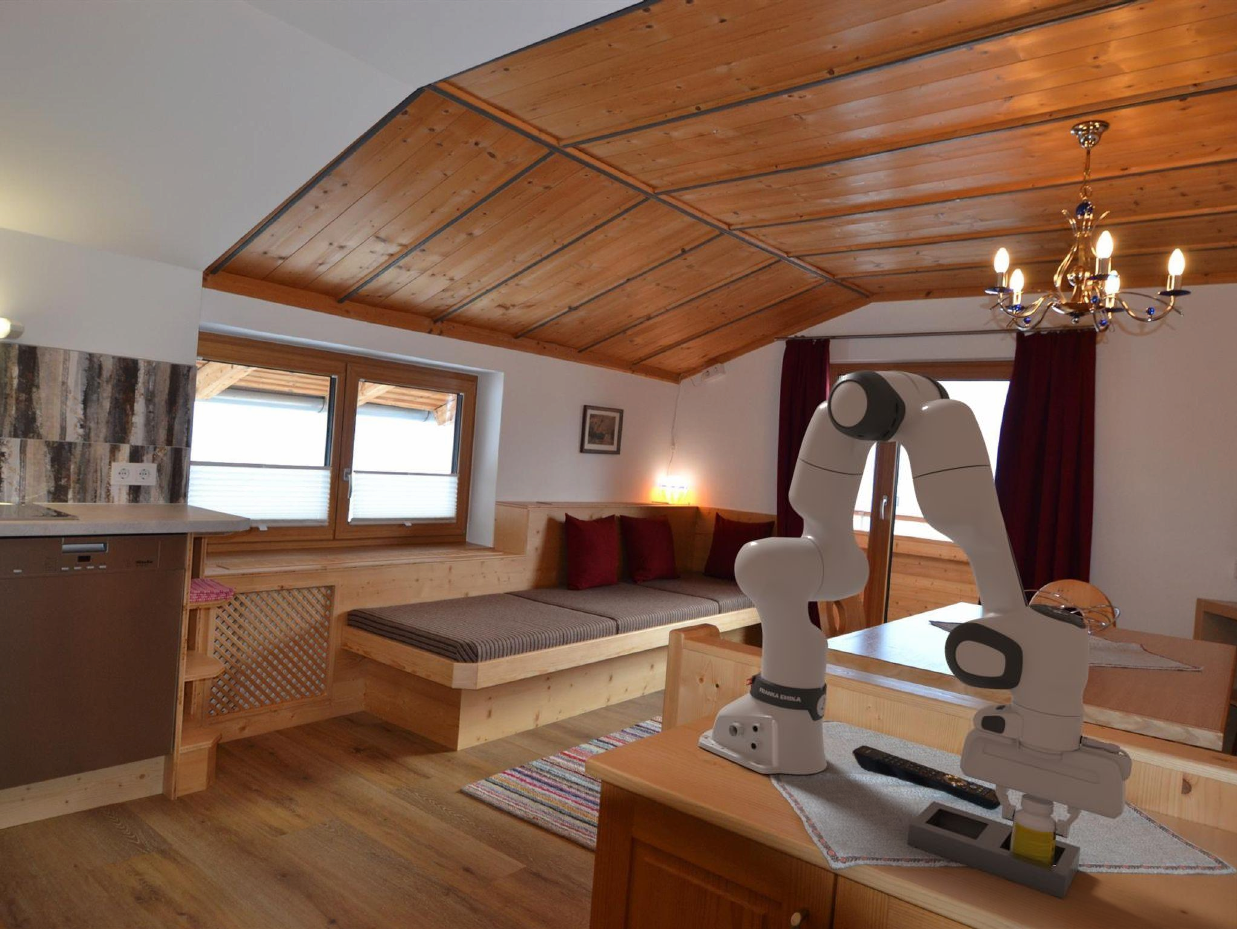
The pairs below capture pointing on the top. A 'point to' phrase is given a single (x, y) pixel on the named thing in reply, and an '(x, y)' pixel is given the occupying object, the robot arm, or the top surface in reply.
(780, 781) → the top surface
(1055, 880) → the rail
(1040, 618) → the robot arm
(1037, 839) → the supplement bottle
